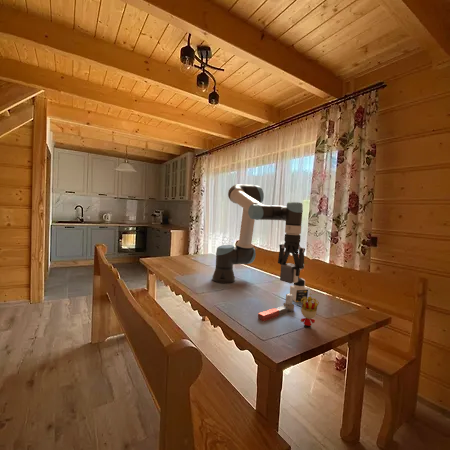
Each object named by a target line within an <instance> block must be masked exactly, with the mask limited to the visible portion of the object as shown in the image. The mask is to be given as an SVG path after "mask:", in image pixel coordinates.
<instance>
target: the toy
mask: <svg viewBox="0 0 450 450" xmlns="http://www.w3.org/2000/svg"><path fill="white" fill-rule="evenodd" d="M308 295H309V296H308V297H303V298H302V299H301V302H300V303H301V314H302V316H303V317H304V318H303V317H302V318H301V319H299V320H300V323H303V327H304V328H307V329H311V328H312V324H314V323H316V320H315V319H314V318H315V317H317V316H316V315H317V311H318V305H319V304H320V303H319V300H317V299H316V298H315V297H312V293H311V292H310V293H308ZM305 298H306V299H305ZM302 300H303V302H302ZM306 301H307V302H306Z"/></svg>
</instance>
